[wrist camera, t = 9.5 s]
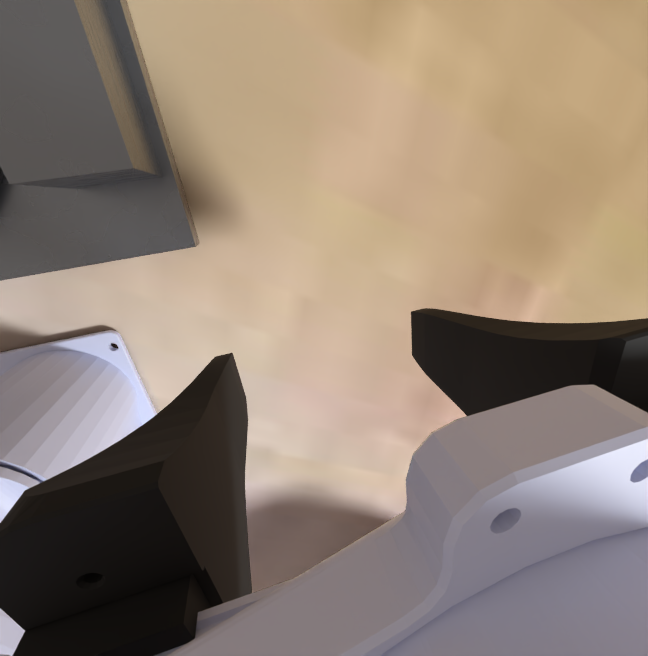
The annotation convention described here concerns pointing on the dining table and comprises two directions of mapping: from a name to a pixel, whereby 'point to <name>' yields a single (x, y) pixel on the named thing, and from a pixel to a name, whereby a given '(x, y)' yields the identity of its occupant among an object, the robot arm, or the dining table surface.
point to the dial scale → (81, 142)
